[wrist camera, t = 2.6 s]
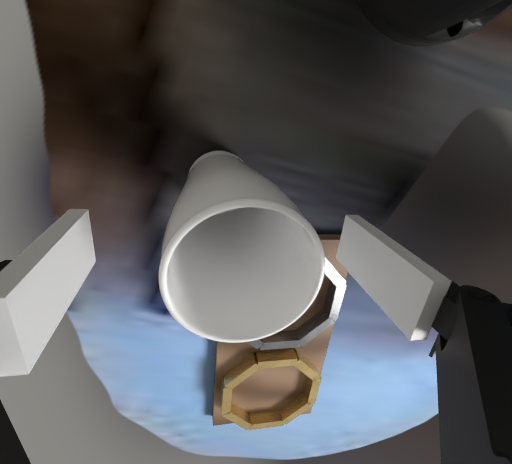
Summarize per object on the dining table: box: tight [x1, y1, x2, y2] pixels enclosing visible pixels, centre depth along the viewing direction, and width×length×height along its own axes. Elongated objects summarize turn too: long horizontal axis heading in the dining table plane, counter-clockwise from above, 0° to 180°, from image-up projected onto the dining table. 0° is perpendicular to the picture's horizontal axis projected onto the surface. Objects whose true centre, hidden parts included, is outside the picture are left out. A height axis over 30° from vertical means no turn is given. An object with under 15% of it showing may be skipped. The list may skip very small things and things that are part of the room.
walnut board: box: [213, 234, 348, 426], centre depth 33 cm, size 26×13×1 cm, turn 174°
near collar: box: [248, 257, 346, 350], centre depth 29 cm, size 12×12×2 cm
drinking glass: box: [159, 151, 325, 343], centre depth 18 cm, size 7×7×15 cm
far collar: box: [221, 348, 321, 430], centre depth 34 cm, size 12×12×2 cm
